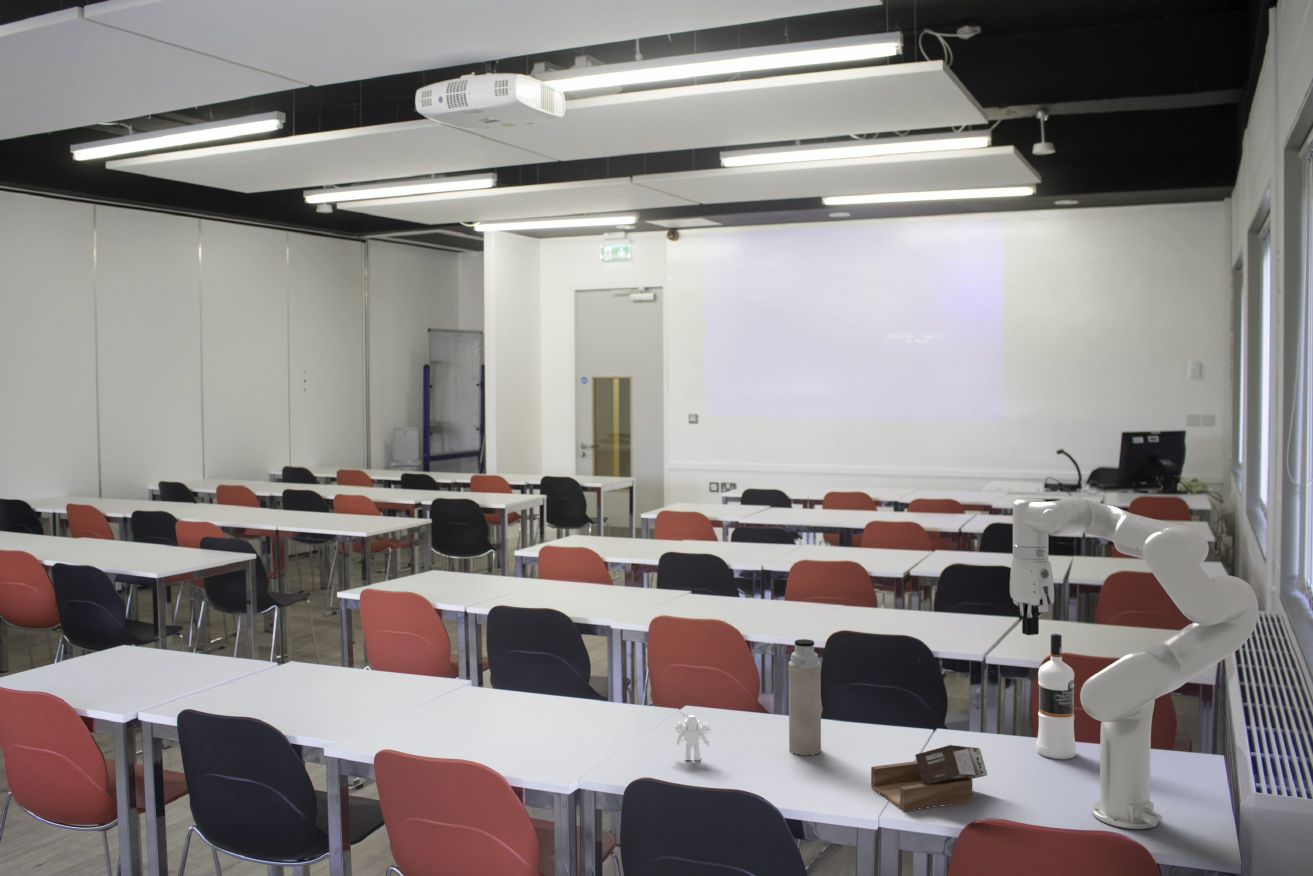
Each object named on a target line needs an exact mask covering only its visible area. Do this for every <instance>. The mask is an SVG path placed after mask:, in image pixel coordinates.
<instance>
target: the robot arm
mask: <svg viewBox="0 0 1313 876" xmlns="http://www.w3.org/2000/svg"><path fill="white" fill-rule="evenodd" d="M1074 533H1083V534H1088V535H1091V536H1096V537H1099V538H1103V539H1105V540H1108V541H1110V542H1112V543H1113V545H1114V548H1115V549H1116V551H1117V552H1119V553H1121V554H1124V555H1128V556H1131V557H1135V558H1136V557H1137V558H1139V559H1142V560H1144V561H1145V563H1146V565H1147V567H1148V568H1149V570H1150V571H1151V573H1152V574H1153V576H1154V577H1155V578H1156V580H1157V581H1158V583H1159V584H1160V585H1161V587H1162V588H1163V590H1164V591H1165V592H1166V594H1167V595H1168V596H1169V597H1170V599H1171V601H1172V602H1173V603H1174V604H1175V606H1176V607H1177V608H1178V610H1179V611H1180V612H1181V614H1183V616H1185V617H1186V618H1187V619H1188V620H1189V621H1191V622H1192V623H1190V624H1188V625H1186V626H1185V627H1183V628H1182V629H1180V630H1179V631H1178V632H1176V633H1174V634H1173V635H1171V636H1169V637H1167V638H1165V639H1163V640H1162V641H1160V642H1157V643H1153V644H1149V645H1147V646H1144V647H1141V648H1138V649H1135V650H1133V651H1131V652H1129V653H1127V654H1126V655H1123V656H1122V657H1120V658H1119V659H1117V660H1115V661H1114V662H1112V663H1111V664H1109V665H1108V666H1106V667H1105V668H1103V669H1101V670H1100V671H1098V672H1096V673H1095V674H1093V675H1092V676H1090V677H1088V678H1087V679H1086V680H1085V681H1084V683H1083V685H1082V687H1081V689H1080V694H1079V700H1080V704H1081V707H1082V708H1083V709H1084V712H1085V713H1086V714H1087V715H1088V716H1090V717H1091V718H1092V719H1094V720H1096V721H1099V722H1100V735H1099V738H1100V739H1099V741H1100V742H1099V744H1100V745H1099V752H1100V753H1099V754H1100V755H1099V759H1100V760H1099V767H1100V768H1099V801H1096V802H1095V803H1093V805H1092V808H1091V813H1092V815H1093V816H1094V818H1097V819H1098V820H1099V821H1100V822H1103V823H1104V824H1105V823H1106V824H1107V825H1110V826H1115V827H1119V828H1122V829H1131V830H1145V829H1146V830H1147V829H1151V828H1154V827H1157V825H1158V823H1159V822H1162V821H1163V815H1162V814H1160V813H1158V812H1156V811H1155V809H1154V807H1155V803H1154V802H1153V801H1151V747H1152V746H1151V745H1152V744H1151V743H1152V742H1151V741H1152V740H1151V738H1152V736H1151V735H1152V722H1153V713H1154V707H1155V700H1156V699H1159V698H1160V697H1162V696H1164V695H1167V694H1169V693H1172V692H1174V691H1176V690H1178V689H1179V688H1181V687H1182V686H1184V685H1185V684H1186V683H1188V682H1189V681H1191V680H1192V679H1194V678H1195V677H1197V676H1199V675H1200V674H1202V673H1205V671H1207V670H1209V669H1211V667H1213V666H1214V665H1216V664H1218V663H1220V662H1221V661H1224V660H1225V659H1226V658H1228V657H1230V656H1231V655H1232V654H1233V653H1235V652H1236V651H1238V649H1240V648H1241V647H1242V646H1244V644H1245V643H1246V642H1247V641H1248V639H1249V638H1250V637H1251V635H1252V634H1253V632H1254V631H1255V628H1256V626H1257V623H1258V619H1259V618H1258V617H1259V603H1258V598H1257V596H1256V593H1255V591H1254V588H1253V587H1252V586H1251V585H1250V583H1248V582H1247V581H1246V580H1244V579H1242V578H1240V577H1237V576H1233V575H1226V574H1225V575H1215V576H1212V577H1210V576H1209V574H1208V573H1207V572H1206V571H1205V570H1204V568H1203V567H1202V564H1203V563H1204V562H1205V560H1206V559H1207V558H1208V554H1209V551H1210V550H1209V548H1210V547H1209V543H1208V540H1207V538H1206V537H1205V536H1204V535H1203V533H1202V532H1201V531H1199V530H1196V529H1195V528H1191V527H1189V526H1185V525H1182V524H1176V523H1172V522H1168V521H1164V520H1160V519H1154V518H1151V517H1148V516H1147V517H1146V516H1143V515H1139V514H1134V513H1132V512H1129V511H1126V510H1124V509H1121V508H1119V507H1117V506H1114V505H1111V504H1106V503H1101V502H1098V501H1094V500H1089V499H1085V498H1067V499H1066V498H1065V499H1059V500H1051V501H1046V500H1045V499H1041V498H1035V497H1034V498H1032V497H1027V498H1026V497H1025V498H1024V497H1023V498H1017V499H1016V500H1014V502H1013V504H1012V560H1011V567H1010V574H1009V575H1010V576H1009V594H1010V598H1011V599H1012V602H1013V604H1014V605H1016V606H1018V609H1019V612H1020V616H1021V623H1022V624H1021V628H1022V629H1021V633H1022V634H1023V635H1026V636H1033V635H1034V636H1035V635H1038V634H1039V631H1040V630H1039V627H1040V624H1039V621H1040V619H1039V618H1041V615H1042V613H1045V612H1046V613H1047V612H1049V605H1054V603H1055V602H1054V601H1055V586H1054V585H1055V584H1054V574H1053V569H1052V564H1051V561H1050V560H1049V535H1051V536H1063V535H1064V536H1065V535H1068V534H1074Z"/></svg>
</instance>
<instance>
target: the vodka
mask: <svg viewBox="0 0 1313 876" xmlns="http://www.w3.org/2000/svg"><path fill="white" fill-rule="evenodd" d="M1062 637H1063V636H1062V635H1061V633H1060V634H1059V633H1052V634H1050V660H1048V661H1046V662H1045V663H1043V664H1041V665H1040V666H1039V668H1038V672H1037V674H1038V675H1037V676H1038V677H1037V678H1038V680H1037V681H1038V682H1037V683H1038V713H1037V715H1038V731H1037V739H1036V742H1035V743H1036V744H1035V745H1036V746H1035V748H1036V751H1037V753H1038V754H1040V755H1041V756H1043V757H1046V758H1049V759H1052V760H1053V759H1054V760H1061V761H1062V760H1070V759H1073V758H1074V757H1075V756H1076V755H1077V744H1076V740H1075V729H1074V727H1075V725H1074V723H1075V722H1074V721H1075V718H1076V717H1075V713H1074V712H1075V710H1074V709H1075V708H1074V707H1075V704H1074V700H1075V699H1074V697H1075V696H1074V695H1075V693H1074V692H1075V690H1074V687H1075V683H1074V682H1075V680H1074V679H1075V671H1074V670H1073V668H1072V667H1071V666H1070V665H1068V664H1067V663H1066V662H1064V661H1063V657H1062V653H1063V652H1062V649H1063V648H1062V647H1063V646H1062V642H1063V641H1062V640H1063V639H1062Z"/></svg>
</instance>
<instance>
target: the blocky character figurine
mask: <svg viewBox="0 0 1313 876" xmlns="http://www.w3.org/2000/svg"><path fill="white" fill-rule="evenodd" d="M680 716H681V717H684V722H685V724H684V722H682V721H680V720H678V721H677V722H675V724H676V725H674V726H673V727H674V731H675V732H676V733H677V734H678V736H677V739H676V744H677V745H680V744H681V742H684V741H685V754H684V760H685V759H687V760H690V759H691V760H692V748H693V751H694V752H693V761H694V760H700V759H702V758H701V753H700V752H701V751H700V742H699V741H700V739H701V740H702V741H703V743H704V744H706V747H708V746H709V745H710V741H709V740H708V738H707V736H706V734H708V732H709V733H711V731H712V730H711V727H710V724H709V723H708V722H707V721H704V722H703V723H702V724H701V725H700V719H698V717H697V716H696V715H694V714H690V715H689V713H687V712H686V713H685V712H682V711H681V712H680ZM691 760H690V761H691ZM700 761H701V760H700Z"/></svg>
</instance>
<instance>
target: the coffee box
mask: <svg viewBox="0 0 1313 876" xmlns="http://www.w3.org/2000/svg"><path fill="white" fill-rule="evenodd" d="M914 757H915V759H916V760H915V761H917V763H918V767H919V771H920V775H921V779H922V782H923V783H933V782H940V781H948V780H955V779H962V778H970V779H971V780H974V779H978V778H983V777H987V776H988V772H987V769H986V768H987V767H986V765H985V761H984V757H983V755H982V751H981V748H980V747H973V746H963V745H953V744H949V745H946V746H942V747H941V746H940V747H938V748H935V749H931V750H928V751H924V752H921V753H916V754H915V755H914Z"/></svg>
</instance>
